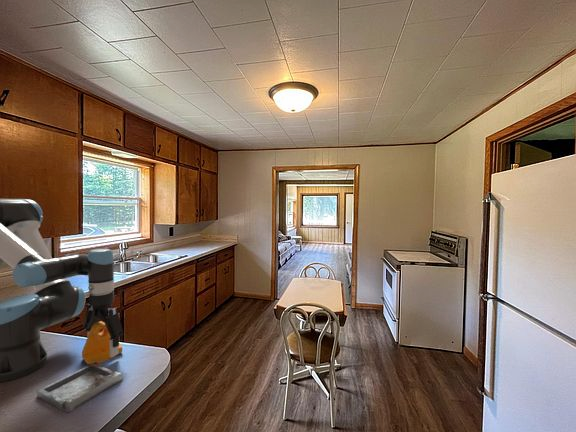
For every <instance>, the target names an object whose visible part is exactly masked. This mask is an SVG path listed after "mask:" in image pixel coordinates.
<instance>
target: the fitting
mask: <svg viewBox="0 0 576 432" xmlns="http://www.w3.org/2000/svg"><path fill="white" fill-rule="evenodd" d="M123 380H124V379H123V378H122V372H118V371H116V370H115V371H114V370H112V369H109V368H107V367H104V366H102V365H98V364H97V363H92V364H87V365H86V366H85V367H82V368H80V369H78V370H77V371H75V372H72V373H70V374H68V375H66V376H64V377H62V378H60V379H58V380H56V381H54V382H52V383H50V384H48V385H45V386H44V387H41V388H40V389H38V390H36V395H37V398H39V399H41V400H43V401H44V402H46V403H48V404H50V405H52V406H53V407H55V408H58V409H59V410H61V411H62V412H64V413H67V414H68V413H71V412H73V411H74V410H75V409H77V408H79V407H80V406H82V405H84V404H85V403H87V402H88V401H91V400H92V399H94V398H95V397H97V396H99V395H100V394H102V393H103V392H105V391H107V390H109V389H110V388H113V387H114V386H115V385H117V384H118V383H121V382H122V381H123Z"/></svg>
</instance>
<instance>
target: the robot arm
mask: <svg viewBox="0 0 576 432" xmlns="http://www.w3.org/2000/svg"><path fill="white" fill-rule="evenodd" d="M43 214H44V212H43V210H42V208H41V206H40V205H39V204H38V203H37V202H36V201H35V200H32V199H29V198H27V199H26V198H19V197H17V198H15V197H14V198H5V197H4V198H3V197H2V198H0V260H1V261H3V262H4V263H6V264H7V265H8V266H9V267H11V268H12V269H13V270H12V274H11V277H12V280H14V284H15V285H16V286H18V287H19V288H29V287H33V289H34V292H33V293H28V294H27V293H25V294H21V295H16V296H13V297H9V298H7V299H4V300H2V301H0V383H3V382H9V381H12V380H15V379H18V378H21V377H25V376H27V375H30V374H32V373H34V372H35V371H37V370H39V369H41V368H42V367H44V366H45V365H46V364H47V363H48V352H47V351H46V348H45V346H44V345H43V342H42V340H41V330H43V329H46V328H49V327H51V326H54V325H56V324H57V325H58V324H60V323H62V322H64V321H69V320H70V319H72V318H74V317H76V316H78V315H80V314H81V313H82V311H83V310H84V307H85V304H86V299H87V298H86V295H85V292H84V290H83V288H82V287H80V286H78V285H72V283H71V281H70V280H68V278H72V277H76V276H85V277H86V276H88V286H87V289H88V294H89V295H88V304H86V311H85V316H84V321H83V324H82V329H85V331H86V335H87V338H88V335H89V333H90V330H91V328H92V326H93V325H94V324H95V323H97V322H99V321H102V322H104V323H105V325H106V327H107V329H108V332H109V334H110V336H111V338H110V339H109V340H110V357H113V356H115V357H116V356H117V355H119V354H120V353H119V344H120V337H122V336H124V330H123V326H122V323H121V321H120V316H119V311H118V310H119V309H118V307H114V308H112V303H114V301H115V292H114V291H115V279H114V271H115V270H114V262H115V260H114V254H113V253H114V252H113V250H112V249H109V248H100V249H99V248H98V249H92V250H89V251H88V252H87V254H86V253H85V254H83V253H67V254H66V255H63V256H60V257H59V256H58V257H54V258H53V257H52V255H51V253H50V250H49V249H48V247H47V244H46V243H45V241H44V239H43V237H42V235H41V233H40V230H39V228H40V227H41V223H42V222H43V219H44V216H43ZM87 338H86V339H87Z"/></svg>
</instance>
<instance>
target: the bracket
mask: <svg viewBox="0 0 576 432" xmlns="http://www.w3.org/2000/svg"><path fill="white" fill-rule="evenodd" d="M110 338H111V336H110V334H109V332H108V329H107V327H106V325H105V323H104V322H102V320H98V322H97V323H95V324H94V325H93V326H92V328H91V330H90V333H89V335H88V338H86V341H85V344H84V346H83V348H82V351H81V358H82V360H84V362H85V363H86V364H87V365H90V364H92V363H94V364H96V365H98V364H100V363H103V362H105V361H108V360H111V359H113V358H116V355H115V356H113V357H110V340H109V339H110ZM122 352H123V345H121V344H120V343H119V354H121V353H122Z"/></svg>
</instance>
